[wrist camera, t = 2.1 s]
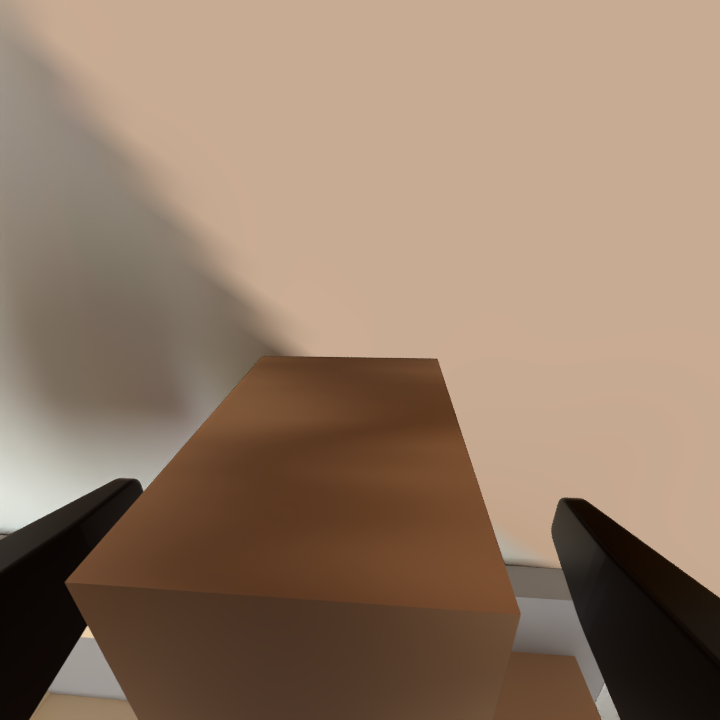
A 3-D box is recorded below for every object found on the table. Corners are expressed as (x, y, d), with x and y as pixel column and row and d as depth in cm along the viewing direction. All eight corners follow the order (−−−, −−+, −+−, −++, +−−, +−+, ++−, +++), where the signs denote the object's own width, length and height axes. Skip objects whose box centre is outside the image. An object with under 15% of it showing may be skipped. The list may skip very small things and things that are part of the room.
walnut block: (437, 358, 9) (520, 614, 3) (426, 495, 10) (468, 811, 5) (262, 355, 9) (64, 583, 4) (281, 488, 11) (168, 776, 5)
